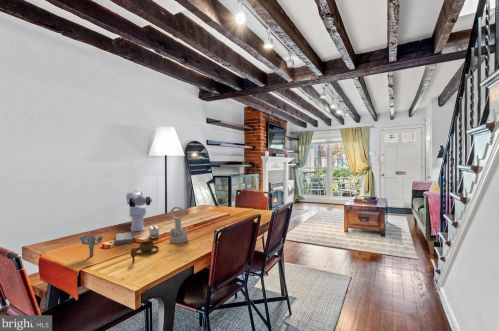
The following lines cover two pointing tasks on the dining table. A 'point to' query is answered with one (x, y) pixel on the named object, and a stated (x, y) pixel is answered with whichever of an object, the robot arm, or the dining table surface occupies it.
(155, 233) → the housing
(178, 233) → the engine component
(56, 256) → the dining table surface
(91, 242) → the mechanical component
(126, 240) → the panel
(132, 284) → the dining table surface
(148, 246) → the place setting
